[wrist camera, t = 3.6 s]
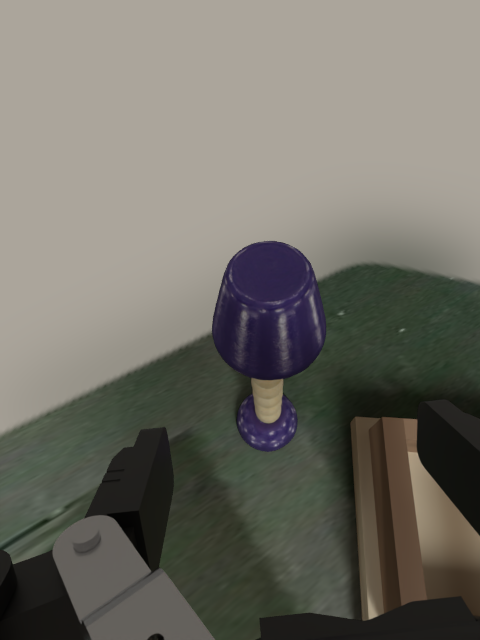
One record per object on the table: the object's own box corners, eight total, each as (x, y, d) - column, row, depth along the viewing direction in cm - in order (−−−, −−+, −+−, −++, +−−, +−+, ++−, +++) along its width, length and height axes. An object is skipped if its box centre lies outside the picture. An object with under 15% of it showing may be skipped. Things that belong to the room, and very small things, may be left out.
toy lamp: (220, 434, 26) (176, 307, 12) (244, 375, 28) (233, 206, 14) (285, 461, 25) (327, 357, 11) (306, 398, 27) (363, 240, 13)
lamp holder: (531, 436, 25) (581, 417, 21) (601, 673, 19) (688, 707, 16) (350, 422, 26) (366, 402, 22) (363, 645, 20) (389, 670, 16)
